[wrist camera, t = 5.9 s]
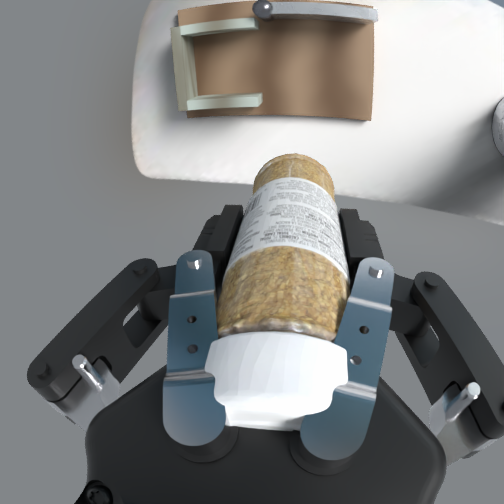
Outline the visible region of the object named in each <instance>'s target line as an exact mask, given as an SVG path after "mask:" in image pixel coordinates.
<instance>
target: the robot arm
mask: <svg viewBox="0 0 504 504" xmlns="http://www.w3.org/2000/svg"><path fill="white" fill-rule="evenodd" d="M492 131H493V138H494V142H495V144H496V147H497V149H498V150H499V152H500V153H501V154H502V155H503V156H504V98H503V99H502V100H501V101H500V103H499V104H498V106H497V108H496V110H495V112H494V117H493V124H492ZM243 216H244V215H243V207H242V205H225V207H224V209H223V211H222V213H221V215H214V216H213V217H211V218H210V219H209V220H207V222H206V224H205V226H204V228H203V230H202V232H201V234H200V236H199V238H198V240H197V242H196V244H195V246H194V248H193V250H192V251H189V252H186V253H184V254H183V255H181V256H180V257H179V259H178V260H177V264H176V265H173V266H168V267H161V268H158V267H157V264H156V263H155V261H154V260H152V259H146V258H144V259H139V260H136V261H133V262H132V263H130V264H129V265H128V266H127V267H126V268H124V270H122V271H121V272H120V273H119V274H118V275H117V276H116V277H115V278H114V279H113V280H112V281H111V282H110V283H108V284H107V285H106V286H105V287H104V288H103V289H102V290H101V291H100V292H99V293H98V294H97V295H96V296H95V297H94V298H93V299H92V300H91V301H90V302H89V303H88V304H87V305H86V306H85V307H84V308H83V309H82V310H81V311H80V312H79V313H78V314H77V315H76V316H75V317H74V318H73V319H72V320H71V321H70V322H69V323H68V324H67V325H66V326H65V327H64V328H63V329H62V330H61V331H60V333H58V335H57V336H55V338H54V339H53V340H52V341H51V342H50V343H49V344H48V345H47V346H46V347H45V348H44V349H43V350H42V352H41V353H40V354H39V355H38V356H37V357H36V358H35V359H34V360H33V362H32V363H31V364H30V366H29V368H28V371H27V380H28V382H29V384H30V385H31V386H32V387H33V388H34V389H35V390H36V391H37V392H38V393H39V394H41V396H42V397H43V399H44V400H45V401H46V402H48V403H49V404H50V405H51V406H52V407H53V408H54V409H56V410H57V411H58V412H59V413H60V414H62V415H64V416H65V417H66V418H68V419H69V420H70V421H71V422H73V423H74V424H77V425H78V426H79V427H80V428H81V429H83V430H84V431H85V432H86V437H85V448H86V455H87V465H88V466H87V468H88V469H87V482H86V486H85V488H84V490H83V492H82V494H81V495H80V497H79V498H78V500H77V501H76V502H75V503H74V504H434V501H435V499H436V496H437V494H438V491H439V490H440V488H441V485H442V483H443V481H444V478H445V474H446V467H447V466H449V465H451V464H452V463H454V462H456V461H458V460H459V459H461V458H469V457H471V456H473V455H474V454H476V453H478V452H479V451H481V450H482V449H484V448H486V447H487V446H489V445H490V444H491V443H493V442H495V441H496V440H497V439H499V438H500V437H502V436H503V435H504V365H503V364H502V362H501V360H500V359H499V357H498V355H497V354H496V352H495V351H494V349H493V348H492V346H491V344H490V343H489V341H488V340H487V338H486V337H485V335H484V334H483V332H482V331H481V329H480V328H479V327H478V325H477V324H476V322H475V321H474V320H473V318H472V317H471V315H470V314H469V312H468V311H467V310H466V308H465V307H464V306H463V304H462V303H461V302H460V300H459V299H458V297H457V296H456V295H455V294H454V292H453V291H452V290H451V288H450V287H449V286H448V285H447V283H446V282H445V281H444V280H443V279H442V278H441V277H440V276H439V275H437V274H435V273H432V272H421V273H418V274H417V275H416V277H415V279H414V280H412V279H408V278H405V277H402V276H399V275H397V274H395V273H394V268H393V267H392V265H391V264H390V263H389V262H387V261H385V260H384V257H383V254H382V250H381V247H380V244H379V242H378V238H377V236H376V232H375V229H374V227H373V226H372V225H371V224H370V223H369V222H368V221H362V220H360V219H359V216H358V212H357V210H356V209H340V213H339V218H340V223H341V228H342V233H343V238H344V244H345V250H346V258H347V264H348V271H349V278H350V294H351V295H350V297H349V298H348V301H347V304H346V308H345V311H344V314H343V317H342V320H341V323H340V326H339V329H338V332H337V335H336V338H335V341H334V344H336V345H338V346H340V347H342V348H344V349H345V350H346V351H347V371H348V381H347V383H346V384H343V385H339V386H337V387H336V388H335V389H334V390H333V394H332V401H331V404H330V406H329V407H328V408H327V409H326V410H324V411H321V412H318V413H314V414H308V415H305V416H304V419H303V421H302V424H301V427H300V431H298V430H293V431H280V430H267V429H257V428H247V427H238V426H230V423H229V419H228V416H227V413H226V409H225V406H224V405H222V404H220V403H219V402H217V400H216V399H215V397H214V388H215V377H214V375H213V374H211V373H209V372H206V371H205V364H206V360H207V357H208V353H209V349H210V346H211V343H212V342H213V341H215V340H218V339H219V336H218V316H217V307H218V305H217V304H218V300H219V297H220V294H221V290H222V282H223V278H224V275H225V272H226V269H227V266H228V262H229V259H230V256H231V253H232V250H233V247H234V244H235V241H236V237H237V234H238V231H239V228H240V225H241V222H242V219H243ZM136 305H137V307H138V309H139V310H138V311H137V312H136V313H135V314H134V315H133V316H132V317H131V319H130V320H129V321H128V322H127V323H126V324H125V325H124V326H123V321H124V319H125V317H126V316H127V315H128V314H129V313H130V312H131V311H132V310H133V308H134V307H135V306H136ZM167 325H168V340H167V341H168V342H167V364H166V365H165V366H164V367H162V368H161V369H159V370H158V371H157V372H155V373H154V374H153V375H151V376H150V377H148V378H147V379H145V380H144V381H143V382H141V383H140V384H138V385H137V386H135V387H134V388H133V389H131V390H130V391H128V392H127V393H126V394H124V395H122V396H121V397H120V398H119V397H118V396H119V393H120V383H121V382H122V381H123V380H124V378H125V377H126V376H127V375H128V373H129V372H130V371H131V370H132V368H133V367H134V366H135V365H136V364H137V362H138V361H139V360H140V358H141V357H142V356H143V355H144V354H145V352H146V351H147V350H148V349H149V347H150V346H151V345H152V344H153V343H154V341H155V340H156V339H157V338H158V336H159V335H160V334H161V333H162V332H163V330H164V329H165V328H166V327H167ZM430 326H432V328H433V329H434V331H435V333H436V334H437V336H438V338H439V340H438V339H437V337H436V335H435V334H434V332H433V331H432V329H431V327H430ZM389 330H393V331H395V333H396V336H397V338H398V340H399V342H400V343H401V345H402V347H403V349H404V351H405V353H406V355H407V357H408V358H409V360H410V362H411V364H412V366H413V368H414V370H415V372H416V374H417V376H418V378H419V380H420V382H421V384H422V386H423V388H424V390H425V392H426V394H427V396H428V398H429V400H430V403H431V405H432V407H431V409H430V411H429V422H430V424H429V428H430V430H431V431H430V430H429V429H428V428H427V426H426V425H425V424H424V423H423V422H422V421H421V420H420V419H419V418H418V417H417V416H416V415H415V414H414V412H413V411H412V410H411V409H410V408H409V407H408V406H407V405H406V404H405V403H404V402H403V401H402V399H401V398H400V397H399V396H398V395H397V394H396V393H395V392H394V391H393V390H392V389H391V388H390V387H389V385H387V383H386V382H385V381H384V380H383V379H382V378H381V377H380V371H381V367H382V363H383V358H384V353H385V348H386V343H387V337H388V332H389ZM351 359H352V360H354V361H355V362H356V364H357V365H354V364H352V363H351Z"/></svg>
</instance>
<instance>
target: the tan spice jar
mask: <svg viewBox="0 0 504 504" xmlns="http://www.w3.org/2000/svg"><path fill="white" fill-rule="evenodd" d="M350 295H351V294H350V278H349V271H348V264H347V258H346V250H345V244H344V238H343V233H342V228H341V223H340V218H339V213H338V209H337V206H336V204H335V200H334V185H333V181H332V179H331V177H330V175H329V173H328V172H327V170H326V168H325V167H324V166H323V165H321V164H320V163H319V162H317V161H316V160H314V159H312V158H310V157H308V156H305V155H300V154H296V153H294V154H285V155H282V156H278V157H275V158H274V159H272V160H270V161H268V162H267V163H266V164H265V165H264V166H263V167H262V168H261V169H260V171H259V172H258V175H257V176H256V178H255V181H254V187H253V195H252V197H251V199H250V200H249V202H248V205H247V207H246V210H245V213H244V216H243V219H242V222H241V225H240V228H239V231H238V234H237V237H236V241H235V244H234V247H233V250H232V253H231V256H230V259H229V262H228V266H227V269H226V272H225V275H224V278H223V282H222V290H221V294H220V297H219V300H218V304H217V305H218V307H217V316H218V336H219V339H218V340H215V341H213V342H212V343H211V346H210V349H209V353H208V357H207V360H206V364H205V371H206V372H209V373H211V374H213V375H214V377H215V388H214V397H215V399H216V400H217V402H219V403H220V404H222V405H224V406H225V409H226V413H227V416H228V419H229V423H230V426H238V427H247V428H257V429H267V430H280V431H293V430H298V431H300V427H301V424H302V421H303V419H304V416H305V415H308V414H314V413H318V412H321V411H324V410H326V409H327V408H328V407H329V406H330V404H331V401H332V394H333V390H334V389H335V388H336V387H337V386H339V385H343V384H346V383H347V381H348V371H347V351H346V350H345V349H344V348H342V347H340V346H338V345H336V344H334V341H335V338H336V335H337V332H338V329H339V326H340V323H341V320H342V317H343V314H344V311H345V308H346V304H347V301H348V298H349V297H350ZM351 363H352V364H354V365H357V364H356V362H355V361H354V360H352V359H351Z"/></svg>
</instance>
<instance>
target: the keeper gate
mask: <svg viewBox="0 0 504 504" xmlns="http://www.w3.org/2000/svg"><path fill="white" fill-rule="evenodd" d="M252 11H253V13H254V14H255V15H256V16H258V17H259V18H260V19H261V20H263V21H265V22H270V21H273V20H274V19H312V20H329V21H341V22H350V23H359V24H366V25H369V24H372V23H374V22H376V21H378V11H377V9H373V8H366V7H359V6H351V5H342V4H330V3H315V2H269V1H267V0H258V1H256V2H255V3H254V4H253V6H252Z"/></svg>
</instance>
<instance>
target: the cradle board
mask: <svg viewBox="0 0 504 504" xmlns="http://www.w3.org/2000/svg"><path fill="white" fill-rule="evenodd" d="M267 1H269V2H315V3H330V4H342V5H351V6H359V7H366V8H373V6H367V5H359V4H351V3H342V2H331V1H316V0H267ZM255 2H256V1H243V2H232V3H223V4H215V5H208V6H201V7H195V8H189V9H183V10H178V22H179V27H173V28H170V29H171V42H172V53H173V64H174V74H175V84H176V93H177V102H178V110H179V111H187V118H194V117H209V116H230V115H302V116H322V117H337V118H349V119H359V120H368V121H371V115H372V98H373V75H374V23H372V24H369V25H366V24H359V23H350V22H341V21H329V20H312V19H274V20H273V21H270V22H265V21H263V20H261V19H260V18H259V17H258V16H256V15H255V14H254V13H253V11H252V6H253V4H254V3H255Z"/></svg>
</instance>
